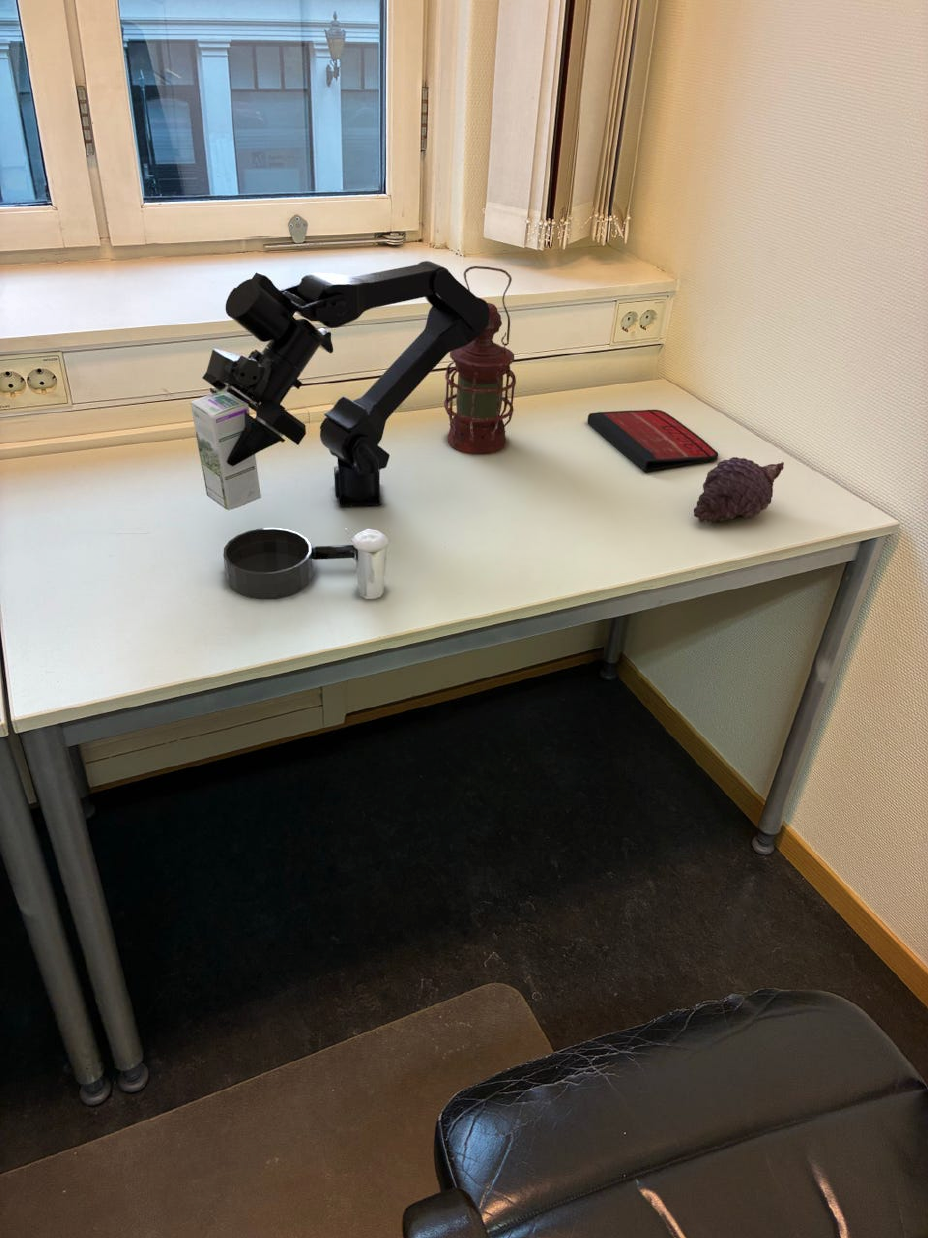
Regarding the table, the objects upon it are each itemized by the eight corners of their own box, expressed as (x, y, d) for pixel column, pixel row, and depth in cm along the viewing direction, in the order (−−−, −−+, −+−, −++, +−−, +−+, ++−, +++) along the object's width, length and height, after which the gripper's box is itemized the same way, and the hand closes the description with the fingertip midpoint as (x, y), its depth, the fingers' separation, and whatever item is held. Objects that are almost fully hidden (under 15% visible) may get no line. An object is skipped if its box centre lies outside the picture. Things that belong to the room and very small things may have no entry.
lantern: (434, 450, 159) (441, 272, 141) (451, 422, 169) (459, 252, 151) (503, 460, 157) (519, 281, 140) (516, 432, 167) (532, 260, 149)
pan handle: (382, 552, 127) (382, 541, 126) (383, 559, 126) (383, 548, 125) (309, 555, 126) (308, 544, 125) (309, 562, 124) (308, 551, 123)
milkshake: (348, 583, 125) (346, 519, 119) (387, 583, 125) (387, 519, 120) (347, 602, 121) (345, 537, 115) (388, 602, 122) (388, 537, 116)
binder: (646, 460, 155) (587, 411, 170) (643, 473, 156) (585, 423, 172) (725, 452, 160) (661, 406, 176) (721, 464, 162) (658, 417, 177)
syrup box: (262, 498, 130) (251, 401, 121) (226, 512, 126) (211, 414, 117) (240, 482, 133) (227, 388, 124) (204, 496, 129) (188, 400, 121)
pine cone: (725, 545, 138) (701, 485, 135) (685, 544, 147) (662, 487, 145) (809, 492, 143) (788, 433, 140) (766, 494, 152) (745, 438, 150)
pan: (312, 550, 131) (310, 526, 129) (314, 596, 122) (312, 571, 120) (228, 553, 129) (225, 529, 127) (224, 601, 120) (221, 575, 118)
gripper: (206, 306, 123) (142, 402, 124) (278, 348, 112) (206, 454, 113) (264, 351, 132) (203, 441, 133) (335, 394, 121) (269, 492, 121)
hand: (218, 455), depth 125 cm, fingers closed on syrup box, 6 cm apart
